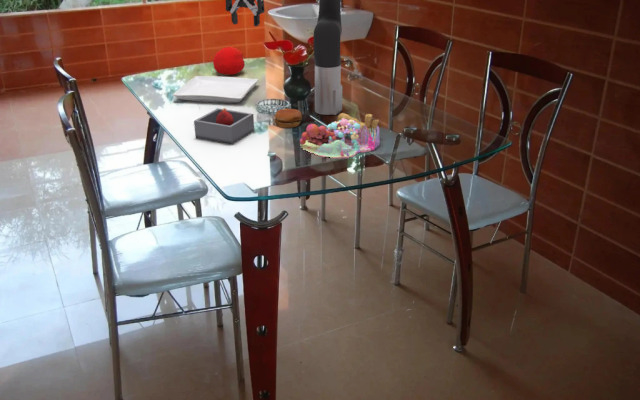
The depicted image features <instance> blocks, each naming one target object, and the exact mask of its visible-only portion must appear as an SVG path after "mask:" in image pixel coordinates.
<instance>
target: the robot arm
mask: <svg viewBox="0 0 640 400" xmlns="http://www.w3.org/2000/svg"><path fill="white" fill-rule="evenodd" d="M318 1H319V4H318V5H319V6H318V7H319V8H318V15H317V21H316V22H317V23H316V25H315V26H314V30H313V58H314V111H315V113H316V114H319V115H322V116H323V115H326V116H329V115H333V116H334V115H335V116H336V115H338V114H340V112H341V111H343V84H341V74H342V73H341V71H342V70H341V68H342V58H341V36H342V33H343V32H342V31H343V30H342V17H341V15H342V14H341V1H342V0H318ZM240 8H244V9H249V10H250V12H251V13H252V14H253V27H258V26H260V24H261V19H260V18H261V17H260V16H261V14H265V12H266V11H265V0H234V3H233V0H225V11H226V12H229V13H230V15H231V18H230V19H231V22H232V25H237V24H238V23H239V21H238V18H239V17H238V12H237V11H238V10H239V9H240Z"/></svg>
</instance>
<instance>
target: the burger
mask: <svg viewBox="0 0 640 400" xmlns="http://www.w3.org/2000/svg"><path fill="white" fill-rule="evenodd" d="M302 119H303V115H302V112H301V111H300V110H298V109H295V108H287V107H285V108H281V109H279V110H277V111H276V113H274V119H273V121H274V124H276V126H278V127H280V128H283V129H284V128H285V129H286V128H288V129H289V128H290V129H293V128H296V127H298V126H300V125H301V123H302Z"/></svg>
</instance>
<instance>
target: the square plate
mask: <svg viewBox="0 0 640 400" xmlns="http://www.w3.org/2000/svg"><path fill="white" fill-rule="evenodd" d="M259 81H260V80H259V79H258V78H247V77H245V78H244V77H235V76H234V77H233V76H215V75H213V76H212V75H209V76H208V75H207V76H206V75H202V76H201V75H195V76H193V78H191V79H190V80H188V81H187V82H186V83H184V84H183V85H182V86H181V87H180V88H179V89H177V90H176V91H175V92H174V93H172V96H174V97H176V98H177V99H179V100H181V101H189V102H199V103H200V102H203V103H208V102H209V103H222V104H223V103H224V104H233V103H240V102H241V101H242V100H243V99H245V96H247V94H248V93H249V92H250V91H251V90H253V89H254V88H255V86H256V85H257V84H258V82H259Z"/></svg>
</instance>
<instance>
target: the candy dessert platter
mask: <svg viewBox="0 0 640 400" xmlns="http://www.w3.org/2000/svg"><path fill="white" fill-rule="evenodd" d="M372 119H373V114H371V113H366V114H365V116H364V122H361V121H359V120H358V118H355V117H352V116H350V114H347V113H345V112H342V113H339V115H338V116H337V120H335V121H332V122H331V123H329V124H328V125H327V126H325V125H320V126H318V125H317V124H315V123H310V124H308V125H307V126H306V128H305V131H304V132H302V134H301V136H300V137H301V138H300V140H299V146H300V149H301V148H303V149H302V150H306V151H308V152H310V153H314V154H315V155H314V154H313V155H314V156H316V155H318V156H317V157H321V158H324V157H330V158H329V159H350V158H353V157H355V156H356V155H357V154H359V153H367V152H371V151H375V149H377V148H378V147H379V146H380V141H381V140H380V127H379V125H378V124H379V122H380V120H379V119H374V120H372ZM310 153H309V154H310ZM349 157H350V158H349Z"/></svg>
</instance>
